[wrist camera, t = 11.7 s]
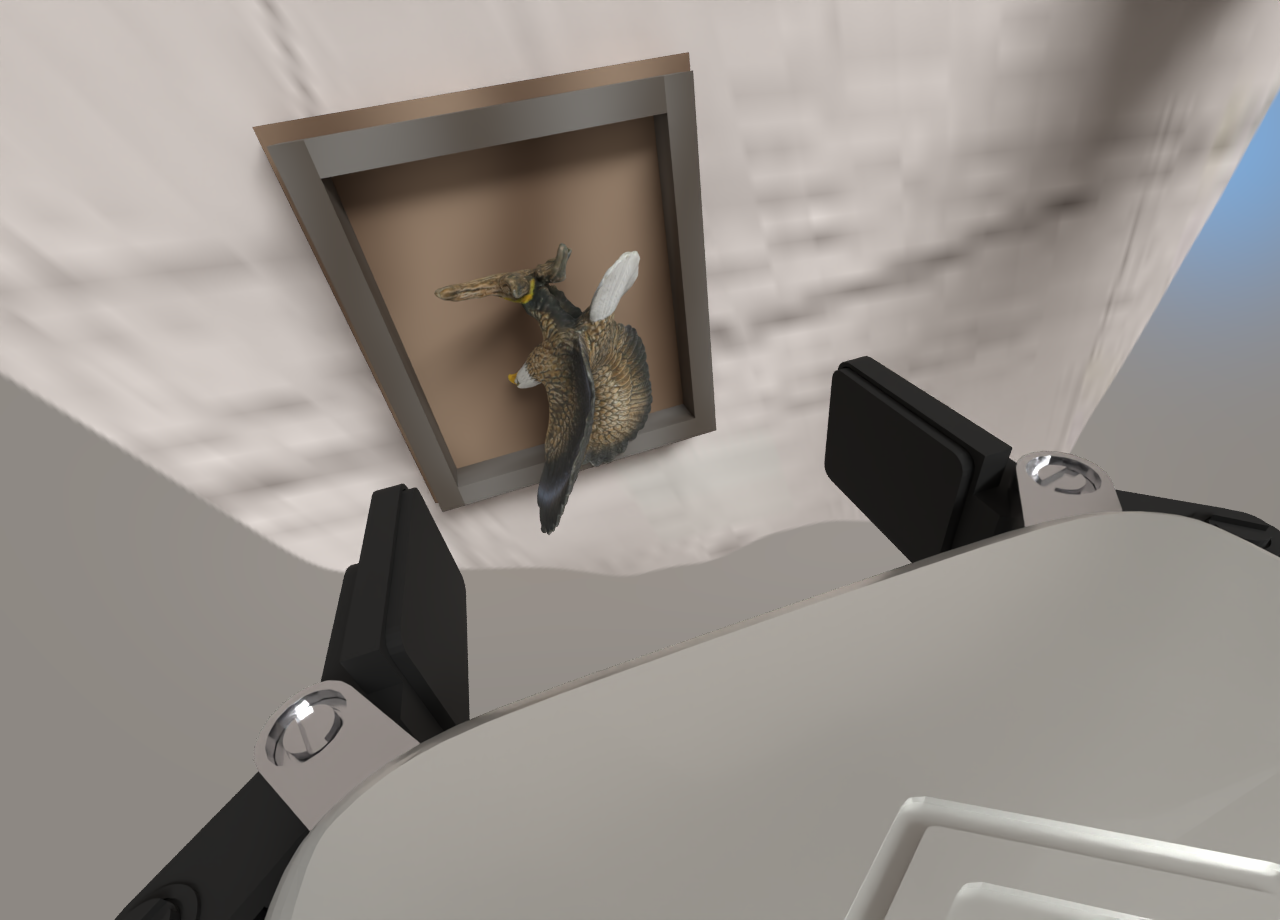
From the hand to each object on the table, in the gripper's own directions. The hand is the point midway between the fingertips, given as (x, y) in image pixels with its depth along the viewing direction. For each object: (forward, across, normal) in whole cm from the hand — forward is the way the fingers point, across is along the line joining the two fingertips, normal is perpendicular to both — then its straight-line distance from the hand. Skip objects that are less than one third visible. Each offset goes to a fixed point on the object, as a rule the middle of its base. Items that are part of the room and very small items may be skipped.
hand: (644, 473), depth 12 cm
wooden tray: (+13, +1, 0) cm, 13 cm away
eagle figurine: (+12, 0, +2) cm, 12 cm away
